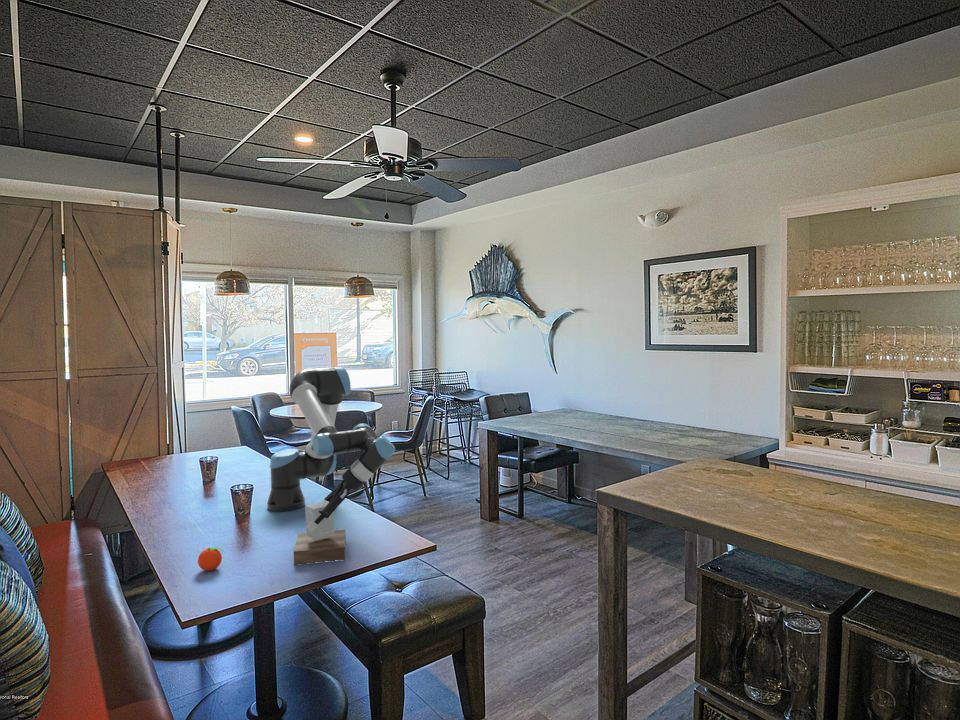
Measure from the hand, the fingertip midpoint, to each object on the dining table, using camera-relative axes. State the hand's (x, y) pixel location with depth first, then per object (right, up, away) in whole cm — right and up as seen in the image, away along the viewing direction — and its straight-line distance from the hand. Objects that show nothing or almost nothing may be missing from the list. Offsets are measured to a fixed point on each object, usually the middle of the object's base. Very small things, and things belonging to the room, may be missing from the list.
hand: (310, 524), depth 193 cm
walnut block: (+3, -10, +1) cm, 11 cm away
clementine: (-28, -11, -11) cm, 32 cm away
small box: (+3, -4, +1) cm, 5 cm away
